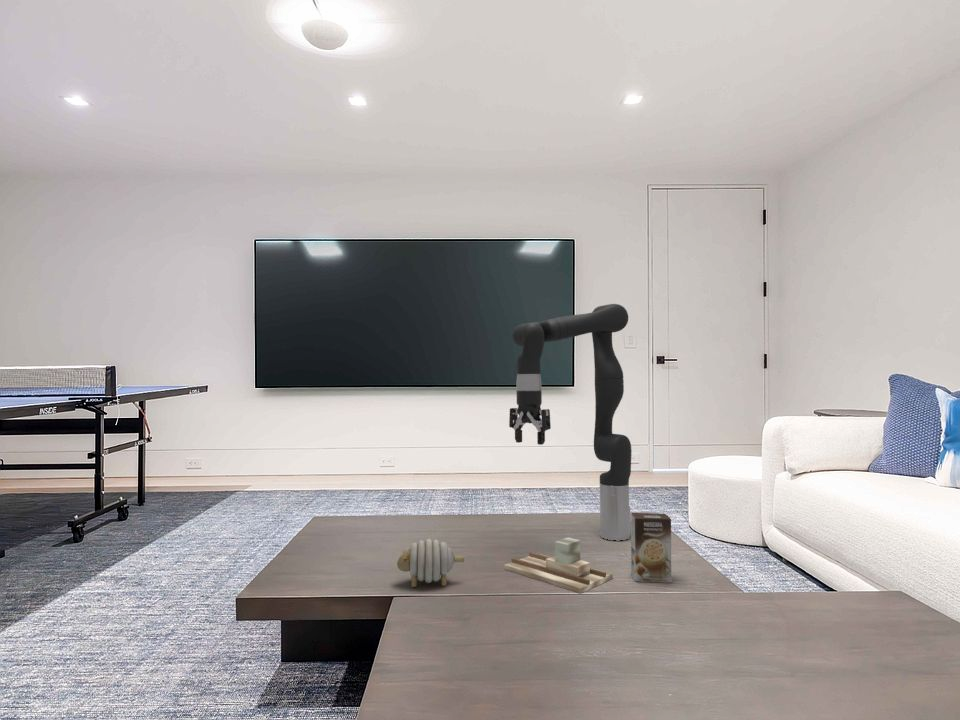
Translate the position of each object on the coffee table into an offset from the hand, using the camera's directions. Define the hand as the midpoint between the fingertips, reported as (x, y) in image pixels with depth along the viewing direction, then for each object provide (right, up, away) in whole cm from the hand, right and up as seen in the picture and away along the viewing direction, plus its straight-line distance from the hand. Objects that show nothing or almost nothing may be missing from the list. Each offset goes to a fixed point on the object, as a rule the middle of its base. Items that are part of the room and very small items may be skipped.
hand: (529, 443), depth 171 cm
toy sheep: (-27, -32, -27) cm, 50 cm away
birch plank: (+5, -31, -20) cm, 38 cm away
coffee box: (+29, -31, -25) cm, 49 cm away
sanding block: (+8, -30, -23) cm, 39 cm away
